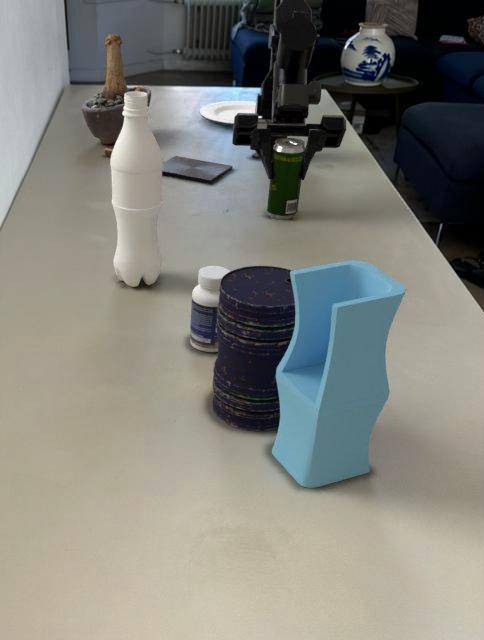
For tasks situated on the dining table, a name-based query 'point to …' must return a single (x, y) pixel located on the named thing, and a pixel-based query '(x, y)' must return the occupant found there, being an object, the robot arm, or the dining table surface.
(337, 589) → the dining table surface
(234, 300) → the storage jar
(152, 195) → the water bottle
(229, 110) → the plate
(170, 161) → the spatula
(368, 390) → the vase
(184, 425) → the dining table surface
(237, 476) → the dining table surface
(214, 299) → the pill bottle
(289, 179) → the beer can
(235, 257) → the dining table surface
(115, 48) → the planter
